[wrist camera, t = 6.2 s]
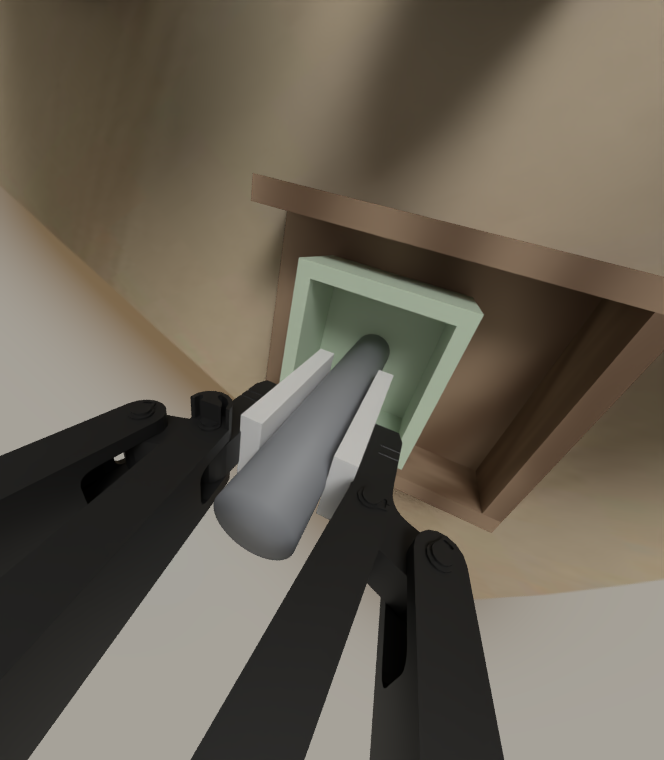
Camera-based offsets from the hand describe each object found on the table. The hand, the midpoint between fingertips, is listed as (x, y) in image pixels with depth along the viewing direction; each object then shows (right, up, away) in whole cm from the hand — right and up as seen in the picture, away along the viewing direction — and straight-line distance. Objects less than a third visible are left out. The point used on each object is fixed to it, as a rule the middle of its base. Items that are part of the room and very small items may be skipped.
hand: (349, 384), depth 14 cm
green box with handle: (+2, +3, +5) cm, 6 cm away
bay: (+4, +3, +6) cm, 8 cm away
